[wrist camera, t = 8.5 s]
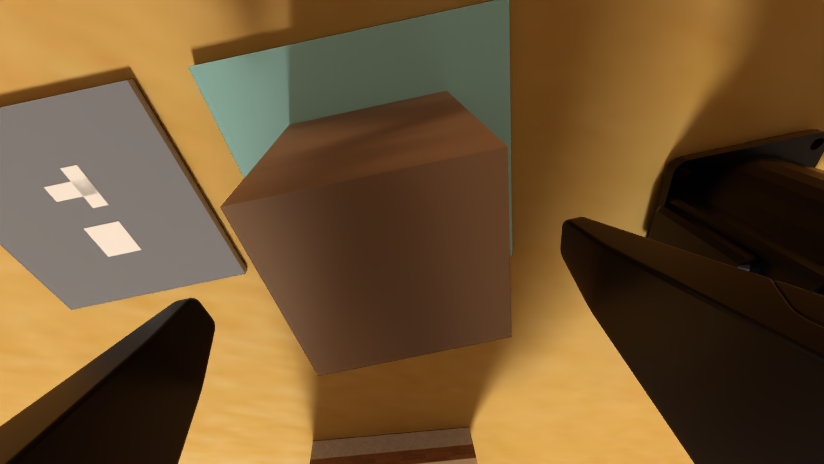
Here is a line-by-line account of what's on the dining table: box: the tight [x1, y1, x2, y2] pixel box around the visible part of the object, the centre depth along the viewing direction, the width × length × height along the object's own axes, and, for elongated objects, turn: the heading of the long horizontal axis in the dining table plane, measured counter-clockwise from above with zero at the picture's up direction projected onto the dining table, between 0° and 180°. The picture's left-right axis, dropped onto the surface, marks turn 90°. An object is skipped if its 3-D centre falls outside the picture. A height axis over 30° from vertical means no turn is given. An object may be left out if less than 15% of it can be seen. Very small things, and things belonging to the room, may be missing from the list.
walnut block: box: [220, 91, 511, 376], centre depth 10 cm, size 6×6×6 cm
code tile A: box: [0, 79, 247, 310], centre depth 12 cm, size 8×8×1 cm
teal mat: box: [188, 0, 512, 256], centre depth 13 cm, size 10×10×1 cm
